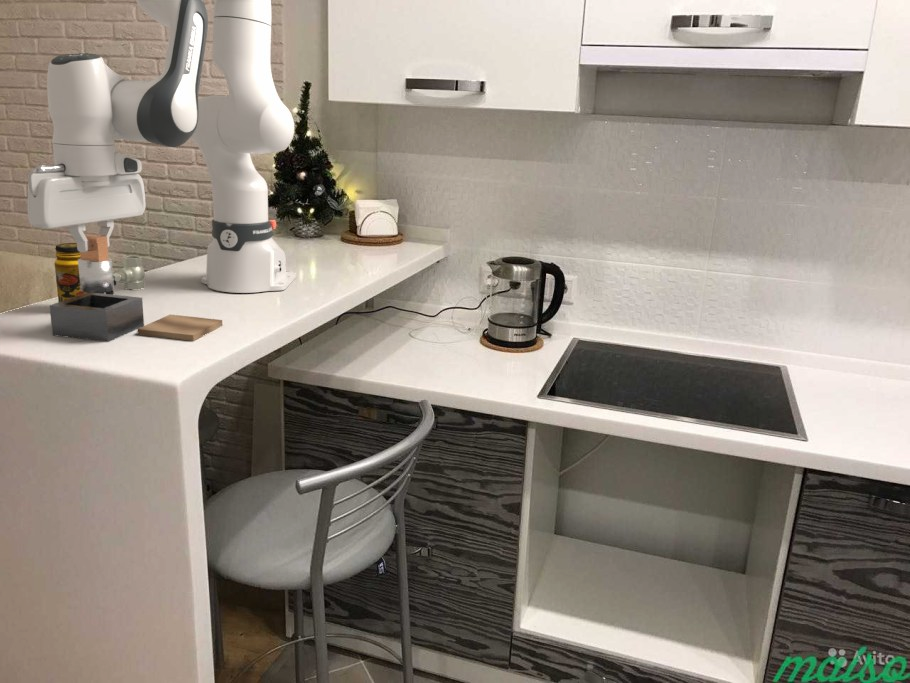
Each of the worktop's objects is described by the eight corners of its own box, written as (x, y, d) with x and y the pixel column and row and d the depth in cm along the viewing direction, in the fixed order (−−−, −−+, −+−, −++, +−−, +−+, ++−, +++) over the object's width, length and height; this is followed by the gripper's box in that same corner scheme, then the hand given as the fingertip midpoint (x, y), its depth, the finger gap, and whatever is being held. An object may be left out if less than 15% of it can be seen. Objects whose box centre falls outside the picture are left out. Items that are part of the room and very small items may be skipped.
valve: (128, 284, 158) (85, 296, 147) (125, 253, 156) (82, 263, 145) (154, 288, 157) (114, 300, 145) (152, 257, 155) (111, 267, 144)
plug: (98, 284, 128) (93, 231, 125) (120, 288, 126) (116, 234, 123) (73, 290, 123) (68, 235, 121) (96, 294, 122) (91, 239, 119)
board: (170, 319, 135) (170, 314, 134) (222, 325, 133) (222, 320, 133) (137, 334, 125) (137, 328, 125) (193, 341, 124) (193, 335, 123)
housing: (91, 319, 132) (89, 292, 130) (144, 325, 130) (142, 297, 129) (52, 335, 122) (49, 305, 121) (108, 341, 121) (105, 311, 119)
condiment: (58, 315, 133) (51, 248, 130) (53, 304, 140) (47, 240, 137) (103, 312, 137) (97, 247, 134) (96, 301, 144) (91, 239, 141)
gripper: (42, 167, 108) (53, 262, 112) (149, 161, 126) (154, 243, 130) (11, 164, 110) (22, 257, 115) (120, 158, 129) (126, 239, 133)
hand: (94, 249), depth 123 cm, fingers closed on plug
